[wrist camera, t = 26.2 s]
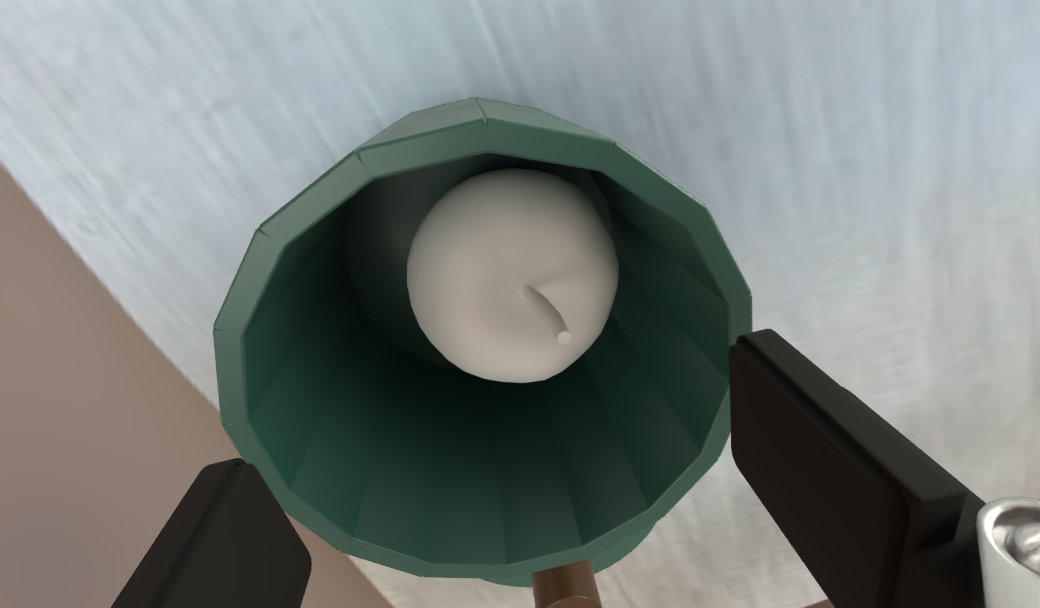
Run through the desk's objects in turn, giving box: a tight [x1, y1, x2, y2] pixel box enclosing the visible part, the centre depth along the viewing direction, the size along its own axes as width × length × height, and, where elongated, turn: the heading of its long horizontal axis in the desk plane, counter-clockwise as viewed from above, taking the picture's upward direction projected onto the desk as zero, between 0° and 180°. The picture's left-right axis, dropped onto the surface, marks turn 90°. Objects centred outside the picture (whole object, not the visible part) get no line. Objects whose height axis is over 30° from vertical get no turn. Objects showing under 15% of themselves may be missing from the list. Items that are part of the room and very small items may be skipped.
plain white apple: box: [407, 168, 619, 383], centre depth 16 cm, size 7×7×8 cm
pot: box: [213, 97, 752, 579], centre depth 16 cm, size 12×12×10 cm
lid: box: [480, 521, 657, 608], centre depth 24 cm, size 13×13×7 cm
